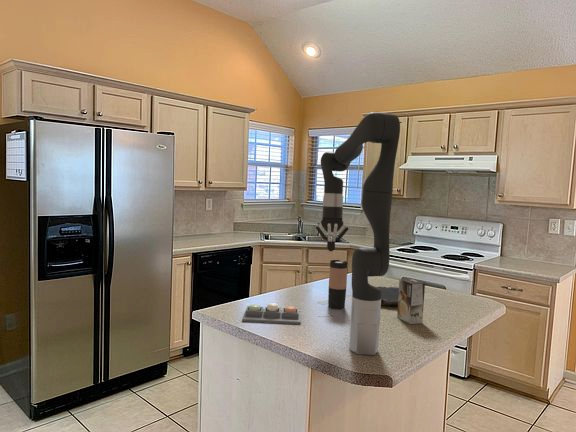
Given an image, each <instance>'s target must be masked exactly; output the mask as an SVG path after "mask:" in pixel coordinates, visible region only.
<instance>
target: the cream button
mask: <svg viewBox="0 0 576 432" xmlns="http://www.w3.org/2000/svg"><path fill="white" fill-rule="evenodd" d="M266 307H267V311H268V312H278V308H279V304H278V303H274V302H271V303H267V304H266Z"/></svg>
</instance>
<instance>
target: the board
mask: <svg viewBox="0 0 576 432" xmlns="http://www.w3.org/2000/svg"><path fill="white" fill-rule="evenodd" d="M376 287H377V288H379V289H380V290H381V292H382V296H381V306H384V307H385V306H386V307H388V306H390V307H391V306H392V307H396V306H398V295H399V286H398V287H396V286H389V287H387V286H376Z"/></svg>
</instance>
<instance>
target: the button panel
mask: <svg viewBox="0 0 576 432" xmlns="http://www.w3.org/2000/svg"><path fill="white" fill-rule="evenodd" d="M301 318H302V316H301V311H300V310H299V308H296V313H288V312H285V307H282V308H281V307H278V312H268V311H267V306H260V311H249V306H248V305H247V306H246V308H245V310H244V314H243V316H242V318H241V320H242V321H247V322H249V323H261V322H268V324H282V323H286V324H285V325H301V324H302V320H301ZM247 322H246V323H247ZM269 322H270V323H269Z"/></svg>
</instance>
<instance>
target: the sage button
mask: <svg viewBox="0 0 576 432" xmlns="http://www.w3.org/2000/svg"><path fill="white" fill-rule="evenodd" d="M260 307H261V305H260V304H249V311H260Z"/></svg>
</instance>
